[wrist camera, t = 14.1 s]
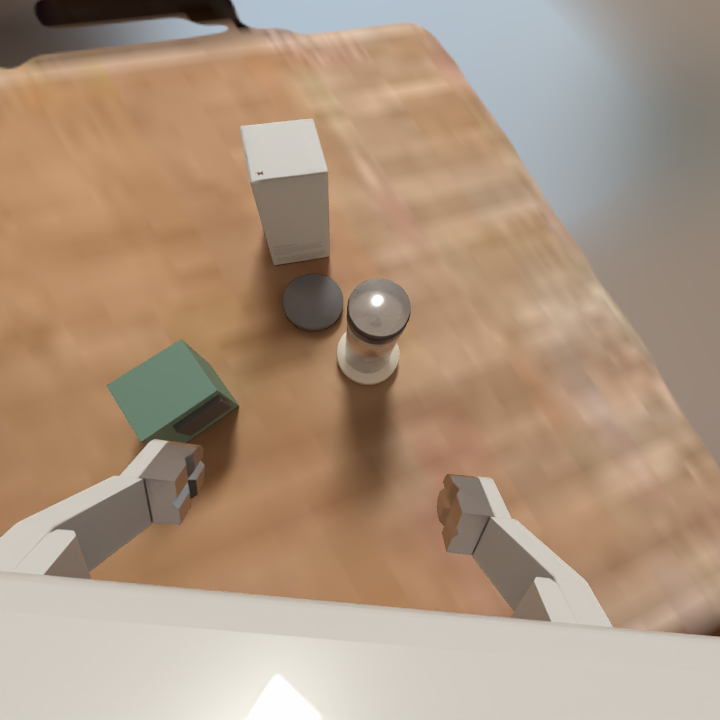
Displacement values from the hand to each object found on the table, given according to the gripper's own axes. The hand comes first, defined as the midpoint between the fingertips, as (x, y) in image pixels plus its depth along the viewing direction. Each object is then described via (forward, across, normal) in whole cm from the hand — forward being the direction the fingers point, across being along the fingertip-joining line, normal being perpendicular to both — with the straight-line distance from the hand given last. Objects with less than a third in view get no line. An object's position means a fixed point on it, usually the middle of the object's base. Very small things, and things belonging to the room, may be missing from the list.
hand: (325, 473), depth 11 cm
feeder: (+21, +15, +14) cm, 29 cm away
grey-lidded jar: (+25, -3, +7) cm, 26 cm away
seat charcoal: (+30, +4, +4) cm, 31 cm away
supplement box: (+37, +8, -2) cm, 38 cm away
